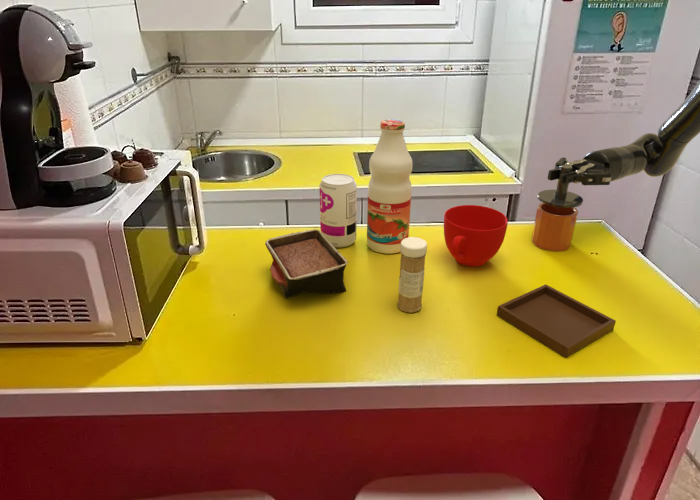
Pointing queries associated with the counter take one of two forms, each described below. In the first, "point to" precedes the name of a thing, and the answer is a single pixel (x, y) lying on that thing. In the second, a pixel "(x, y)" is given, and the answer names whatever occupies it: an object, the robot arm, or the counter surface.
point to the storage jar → (554, 227)
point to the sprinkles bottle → (411, 274)
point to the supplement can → (338, 209)
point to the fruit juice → (389, 190)
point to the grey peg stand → (561, 193)
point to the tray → (556, 319)
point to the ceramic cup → (474, 233)
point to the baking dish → (306, 263)
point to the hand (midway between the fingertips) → (555, 177)
